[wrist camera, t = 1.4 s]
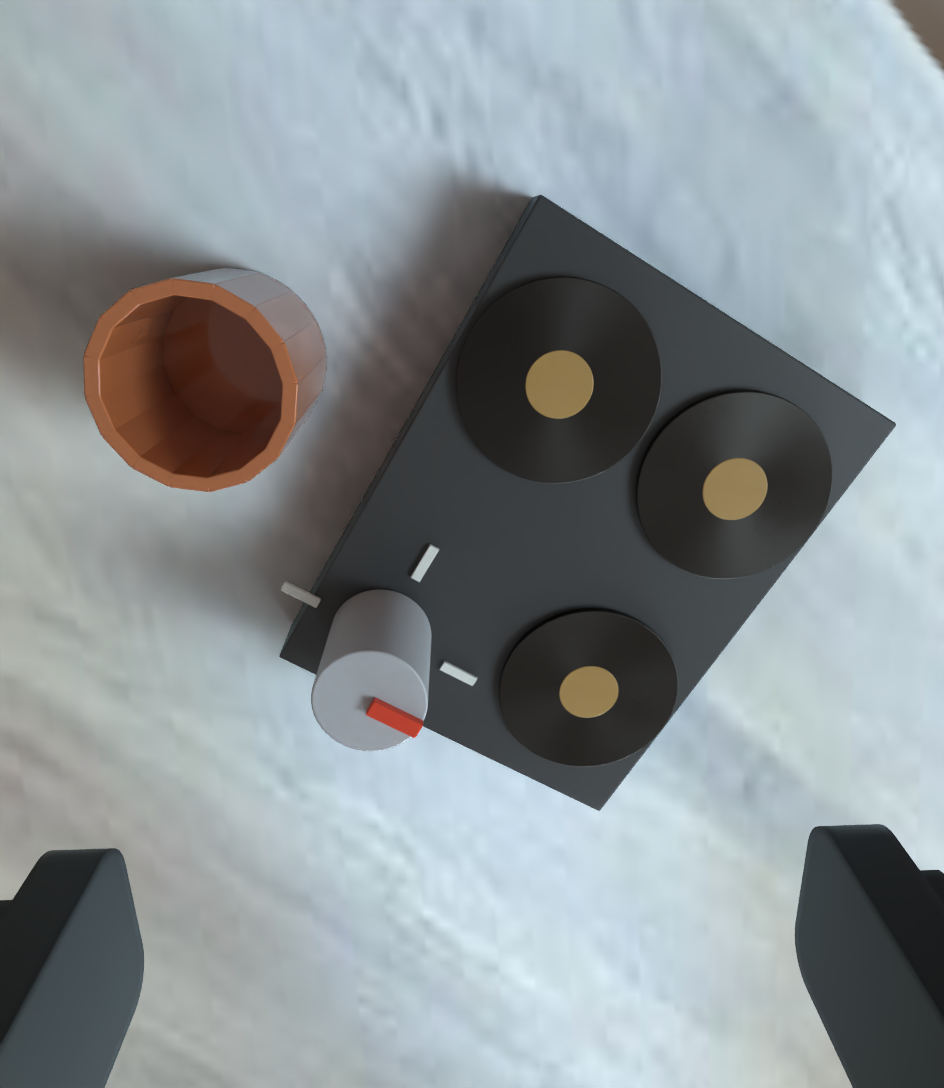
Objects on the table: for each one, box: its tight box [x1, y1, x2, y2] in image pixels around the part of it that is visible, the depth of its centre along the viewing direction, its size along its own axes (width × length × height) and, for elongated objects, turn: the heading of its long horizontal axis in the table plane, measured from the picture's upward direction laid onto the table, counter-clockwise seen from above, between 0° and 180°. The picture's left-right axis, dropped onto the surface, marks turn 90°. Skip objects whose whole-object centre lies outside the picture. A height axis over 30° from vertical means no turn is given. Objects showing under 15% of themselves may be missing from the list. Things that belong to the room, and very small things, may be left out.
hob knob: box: [311, 589, 432, 751], centre depth 28 cm, size 4×4×5 cm
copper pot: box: [83, 268, 327, 492], centre depth 26 cm, size 6×6×6 cm
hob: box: [280, 195, 896, 811], centre depth 30 cm, size 15×19×3 cm
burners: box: [456, 276, 833, 767], centre depth 29 cm, size 14×16×1 cm
